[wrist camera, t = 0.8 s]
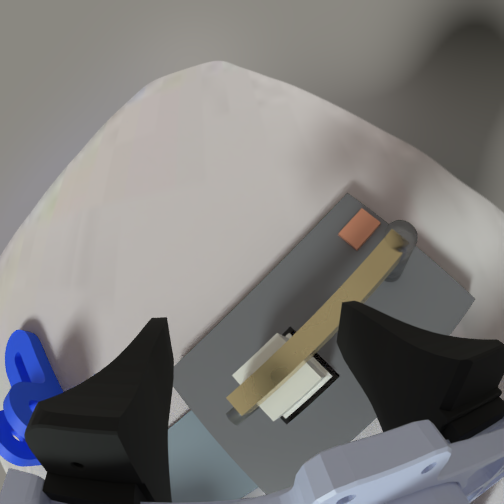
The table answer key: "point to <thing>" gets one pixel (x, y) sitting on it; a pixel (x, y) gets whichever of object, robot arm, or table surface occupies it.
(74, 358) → the table surface
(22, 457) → the bracket
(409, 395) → the robot arm
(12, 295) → the table surface
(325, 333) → the brass flat bar
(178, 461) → the mat
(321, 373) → the plug
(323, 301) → the grey panel
